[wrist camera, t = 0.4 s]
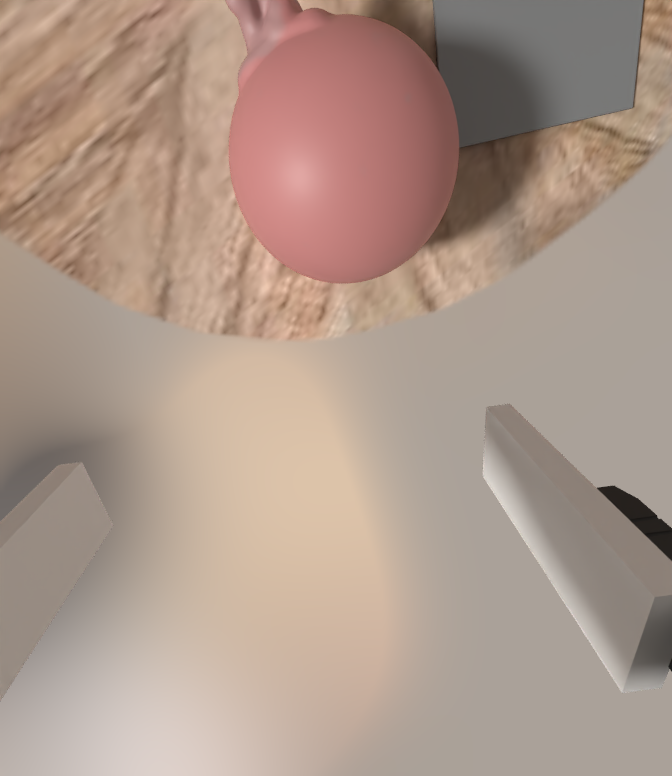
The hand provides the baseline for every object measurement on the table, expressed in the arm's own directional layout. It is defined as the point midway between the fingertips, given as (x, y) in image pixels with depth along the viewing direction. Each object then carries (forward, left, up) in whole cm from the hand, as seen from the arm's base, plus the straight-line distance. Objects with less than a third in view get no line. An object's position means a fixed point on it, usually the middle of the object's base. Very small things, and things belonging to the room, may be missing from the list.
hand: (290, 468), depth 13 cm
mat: (-16, +23, -28) cm, 39 cm away
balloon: (-12, +5, -28) cm, 31 cm away
